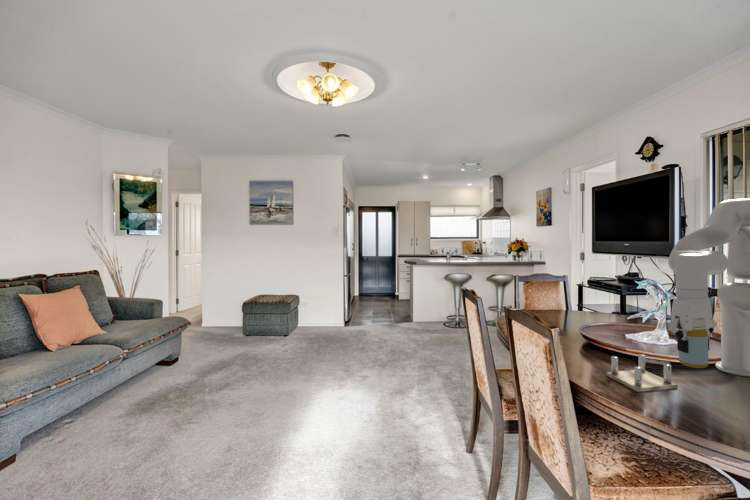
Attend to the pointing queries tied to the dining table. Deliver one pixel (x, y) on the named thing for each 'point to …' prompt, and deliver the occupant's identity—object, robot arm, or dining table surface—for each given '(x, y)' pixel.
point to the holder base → (648, 381)
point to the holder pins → (641, 370)
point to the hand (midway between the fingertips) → (693, 349)
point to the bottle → (696, 346)
